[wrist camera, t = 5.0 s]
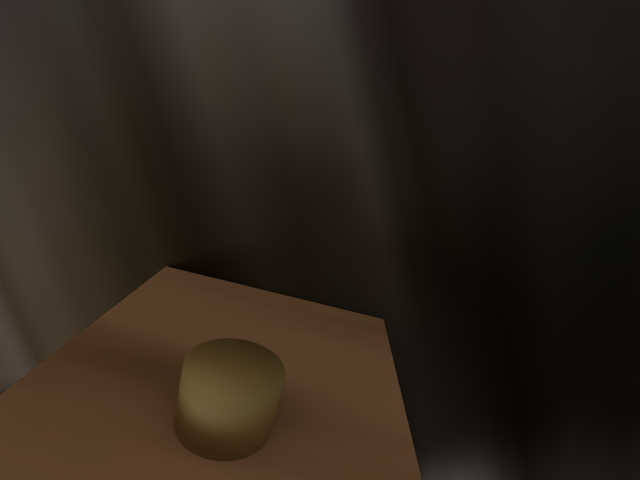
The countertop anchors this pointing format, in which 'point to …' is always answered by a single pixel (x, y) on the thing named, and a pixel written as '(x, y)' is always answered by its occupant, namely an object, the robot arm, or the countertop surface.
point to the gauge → (212, 392)
